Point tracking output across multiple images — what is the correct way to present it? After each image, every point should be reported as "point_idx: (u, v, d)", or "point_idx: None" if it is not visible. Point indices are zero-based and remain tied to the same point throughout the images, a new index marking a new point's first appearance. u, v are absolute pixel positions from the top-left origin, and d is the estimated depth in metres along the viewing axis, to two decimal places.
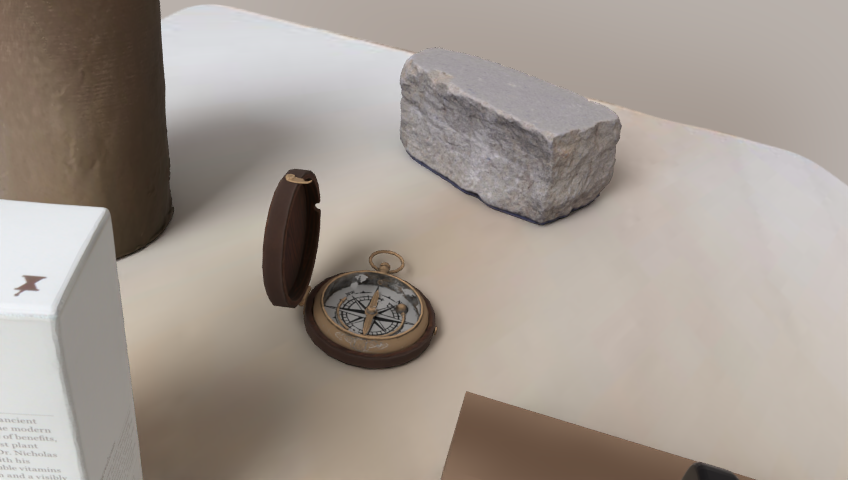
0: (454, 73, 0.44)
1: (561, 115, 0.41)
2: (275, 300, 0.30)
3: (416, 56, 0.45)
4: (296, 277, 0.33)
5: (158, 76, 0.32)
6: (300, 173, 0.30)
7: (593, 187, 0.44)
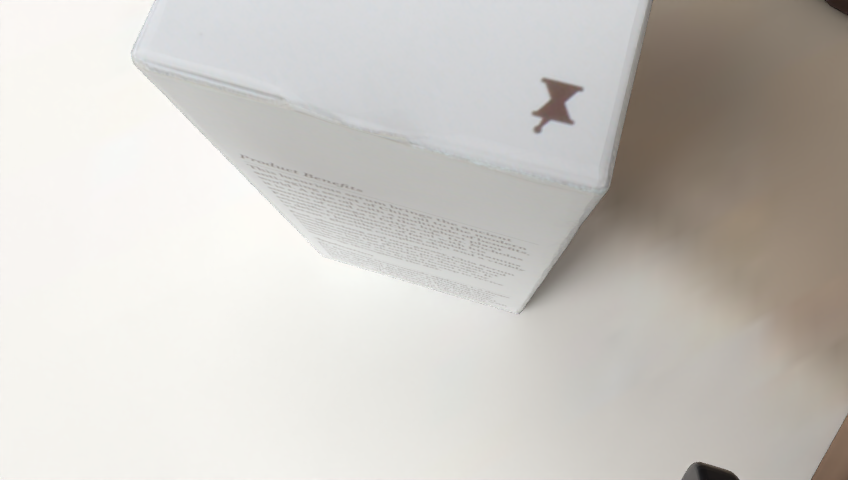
0: None
1: None
2: None
3: None
4: None
5: None
6: None
7: None
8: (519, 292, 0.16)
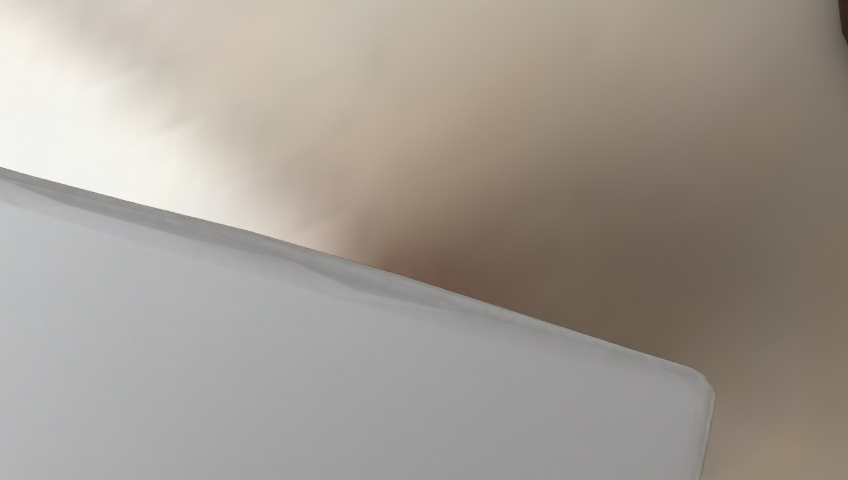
0: None
1: None
2: None
3: None
4: None
5: None
6: None
7: None
8: None
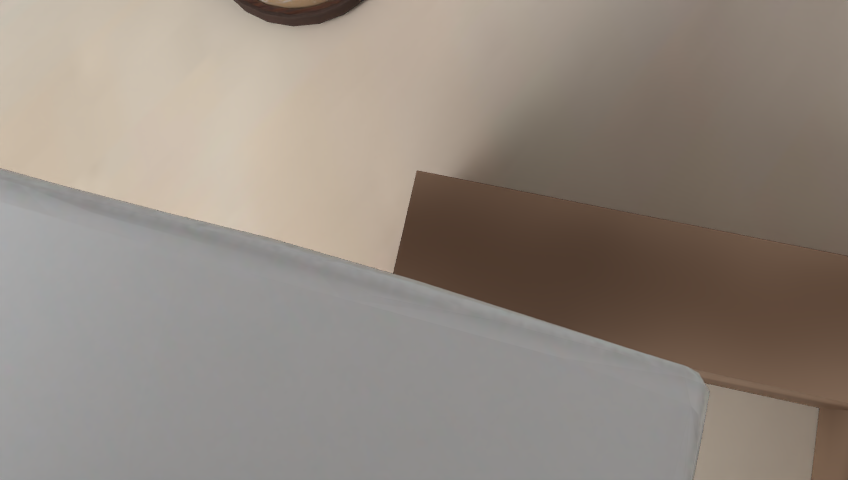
0: None
1: None
2: None
3: None
4: None
5: None
6: None
7: None
8: None
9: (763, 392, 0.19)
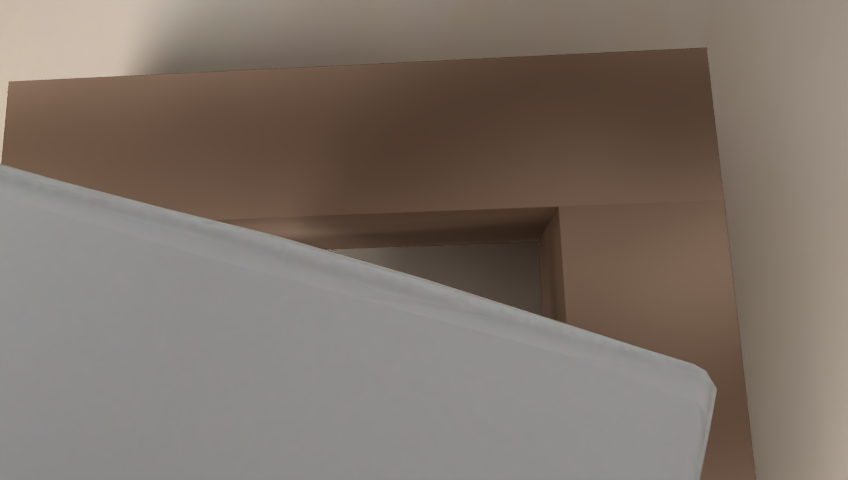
0: None
1: None
2: None
3: None
4: None
5: None
6: None
7: None
8: None
9: (459, 234, 0.18)
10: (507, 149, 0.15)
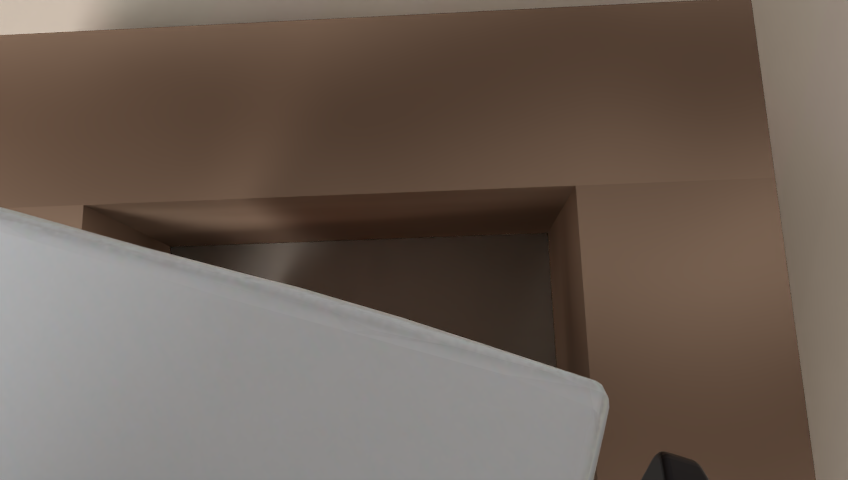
0: None
1: None
2: None
3: None
4: None
5: None
6: None
7: None
8: None
9: (456, 223, 0.15)
10: (513, 117, 0.13)
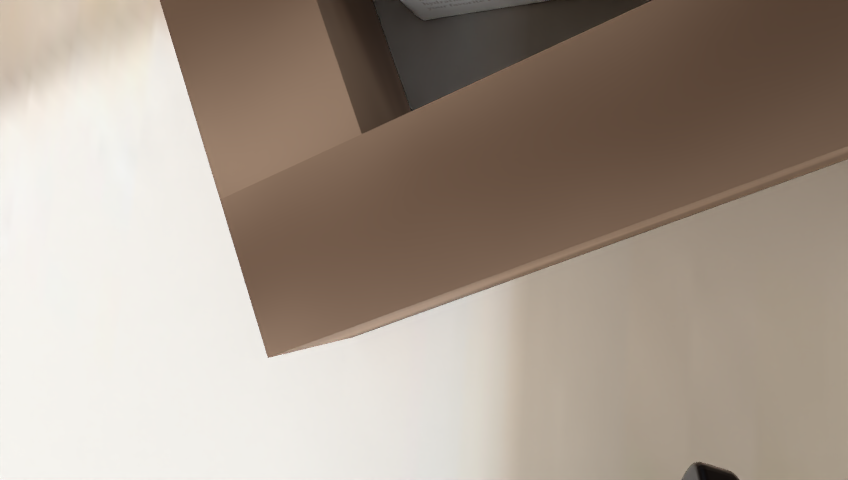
0: None
1: None
2: None
3: None
4: None
5: None
6: None
7: None
8: None
9: None
10: None
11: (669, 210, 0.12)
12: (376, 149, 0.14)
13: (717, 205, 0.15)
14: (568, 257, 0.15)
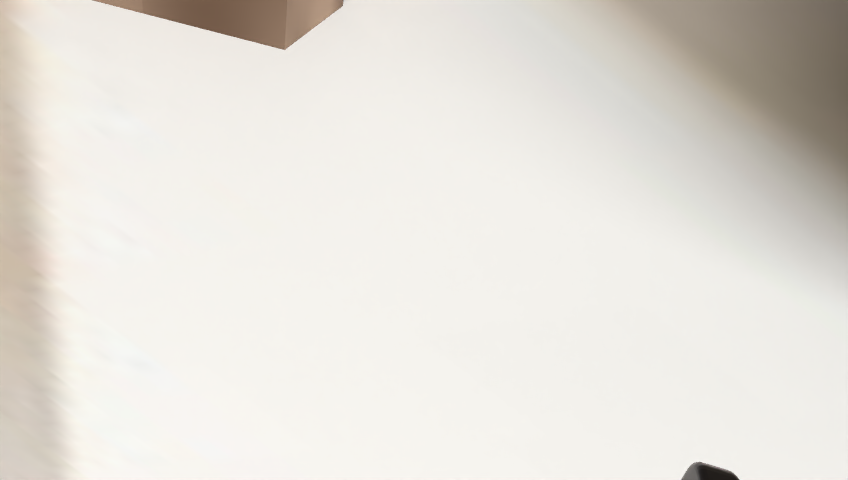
0: None
1: None
2: None
3: None
4: None
5: None
6: None
7: None
8: None
9: None
10: None
11: None
12: None
13: None
14: None
